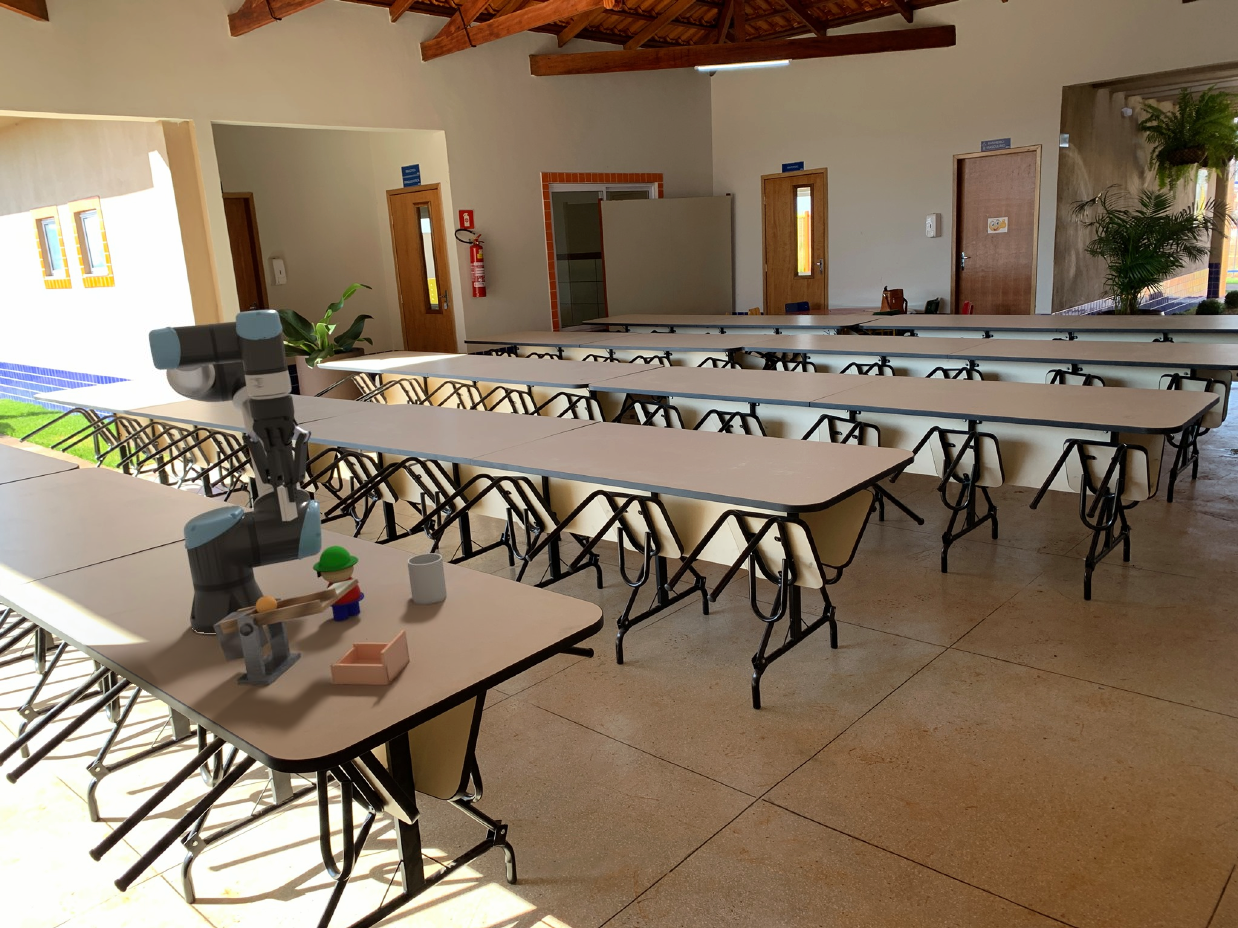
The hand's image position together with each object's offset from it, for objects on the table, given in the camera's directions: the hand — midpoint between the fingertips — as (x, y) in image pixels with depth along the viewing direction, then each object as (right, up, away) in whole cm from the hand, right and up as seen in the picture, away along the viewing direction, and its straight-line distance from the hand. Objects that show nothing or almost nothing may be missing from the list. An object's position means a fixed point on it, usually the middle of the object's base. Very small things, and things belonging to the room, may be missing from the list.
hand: (290, 518), depth 172 cm
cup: (+21, -18, +23) cm, 36 cm away
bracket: (-1, -27, -8) cm, 28 cm away
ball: (0, -15, -11) cm, 18 cm away
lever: (+4, -21, -6) cm, 22 cm away
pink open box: (+19, -26, -11) cm, 34 cm away
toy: (+5, -21, +16) cm, 27 cm away
